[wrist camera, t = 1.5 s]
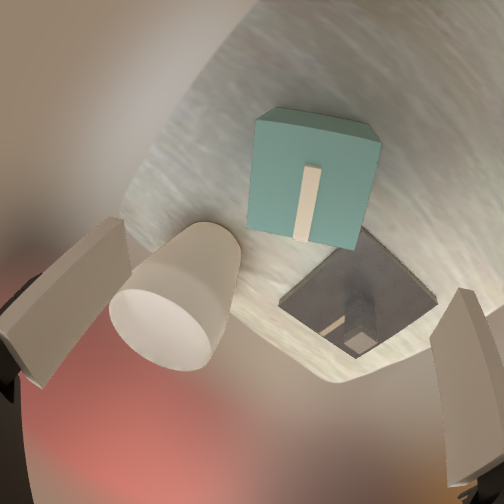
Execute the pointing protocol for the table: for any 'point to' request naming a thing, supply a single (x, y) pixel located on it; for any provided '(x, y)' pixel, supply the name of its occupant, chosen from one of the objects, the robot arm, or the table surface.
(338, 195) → the teal block
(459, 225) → the table surface
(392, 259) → the shaft fixture
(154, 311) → the cup
